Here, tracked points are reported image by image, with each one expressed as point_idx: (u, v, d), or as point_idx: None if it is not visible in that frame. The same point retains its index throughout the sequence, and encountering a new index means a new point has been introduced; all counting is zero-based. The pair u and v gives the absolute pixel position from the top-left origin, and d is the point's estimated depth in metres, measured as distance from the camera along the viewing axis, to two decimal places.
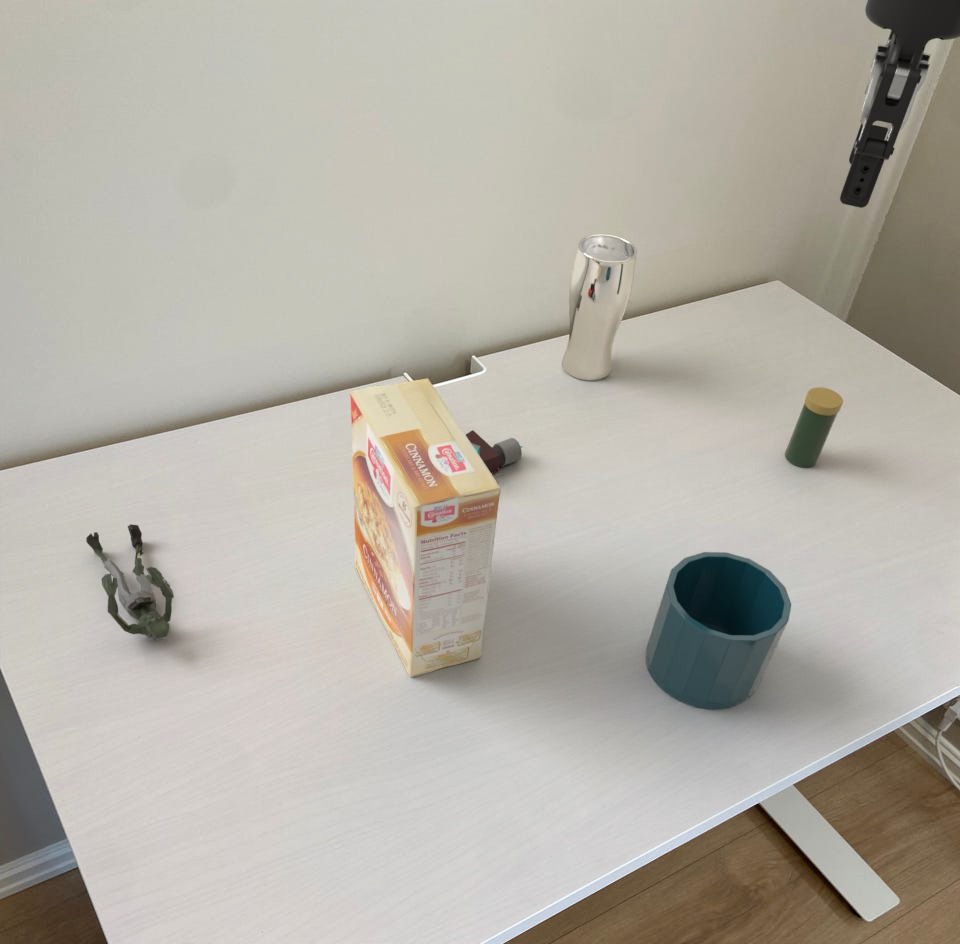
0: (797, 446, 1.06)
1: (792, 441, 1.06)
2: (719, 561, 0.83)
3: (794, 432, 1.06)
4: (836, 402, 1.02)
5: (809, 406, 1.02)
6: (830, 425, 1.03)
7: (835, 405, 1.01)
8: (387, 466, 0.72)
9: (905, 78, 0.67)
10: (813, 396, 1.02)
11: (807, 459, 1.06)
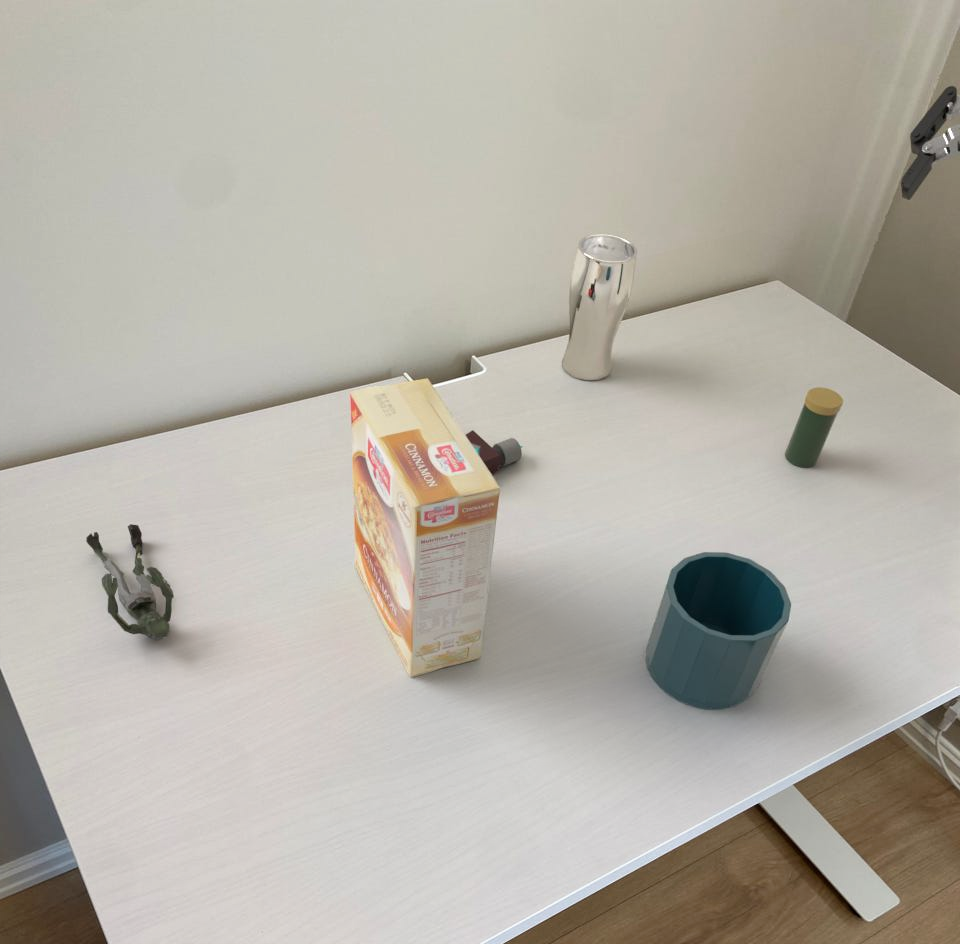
0: (797, 446, 1.06)
1: (792, 441, 1.06)
2: (719, 561, 0.83)
3: (794, 432, 1.06)
4: (836, 402, 1.02)
5: (809, 406, 1.02)
6: (830, 425, 1.03)
7: (835, 405, 1.01)
8: (387, 466, 0.72)
9: None
10: (813, 396, 1.02)
11: (807, 459, 1.06)
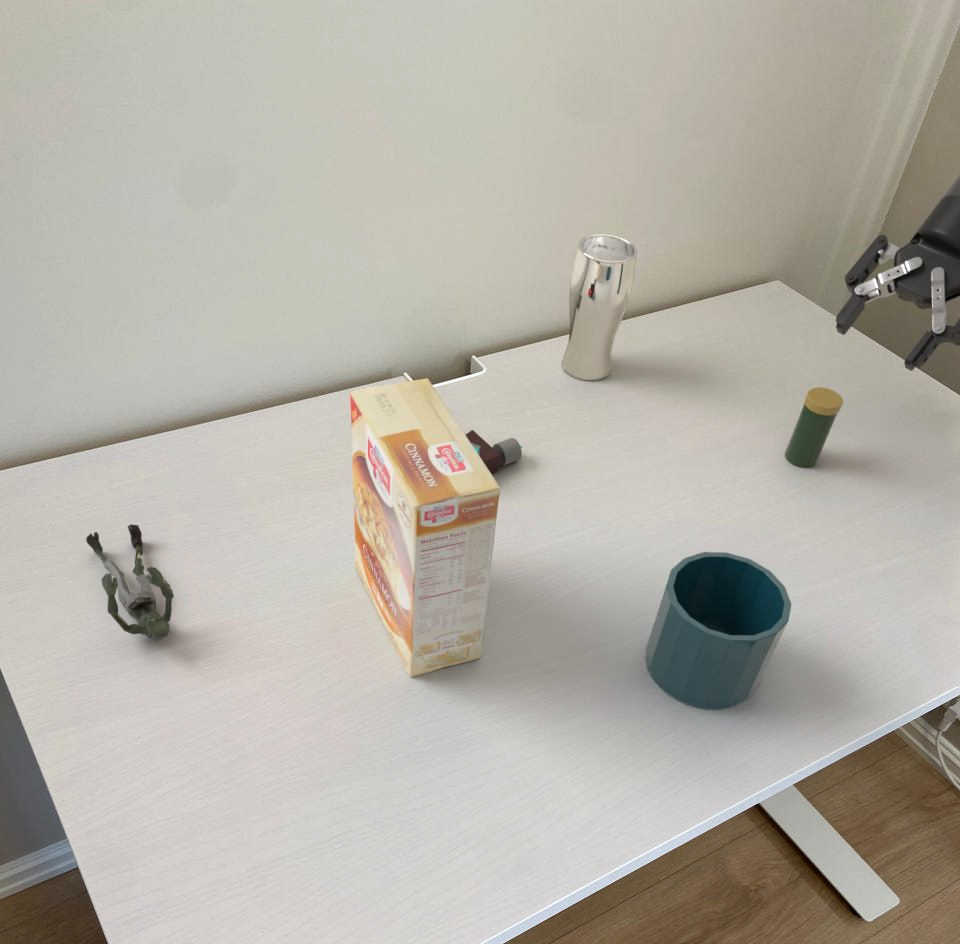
0: (797, 446, 1.06)
1: (792, 441, 1.06)
2: (719, 561, 0.83)
3: (794, 432, 1.06)
4: (836, 402, 1.02)
5: (809, 406, 1.02)
6: (830, 425, 1.03)
7: (835, 405, 1.01)
8: (387, 466, 0.72)
9: None
10: (813, 396, 1.02)
11: (807, 459, 1.06)
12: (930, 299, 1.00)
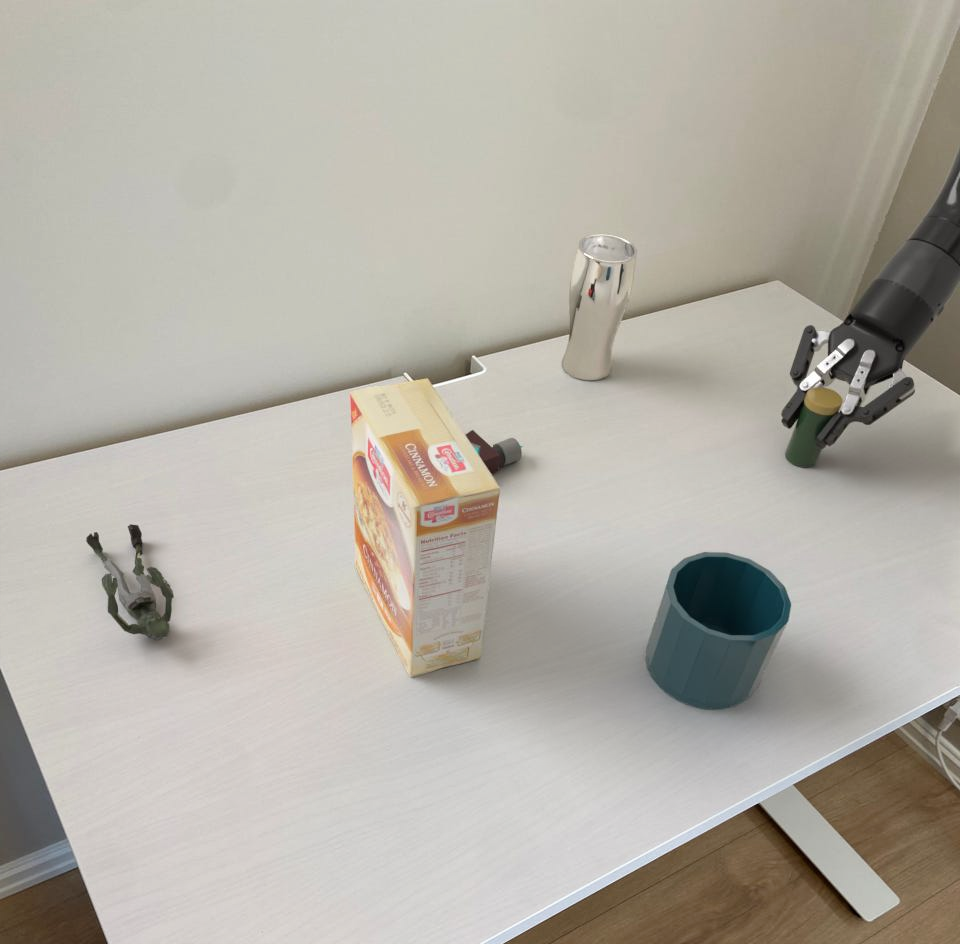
0: (797, 446, 1.06)
1: (792, 441, 1.06)
2: (719, 561, 0.83)
3: (794, 432, 1.06)
4: (836, 402, 1.02)
5: (808, 406, 1.02)
6: None
7: (834, 405, 1.01)
8: (387, 466, 0.72)
9: None
10: (813, 396, 1.02)
11: (807, 459, 1.06)
12: (854, 377, 1.02)
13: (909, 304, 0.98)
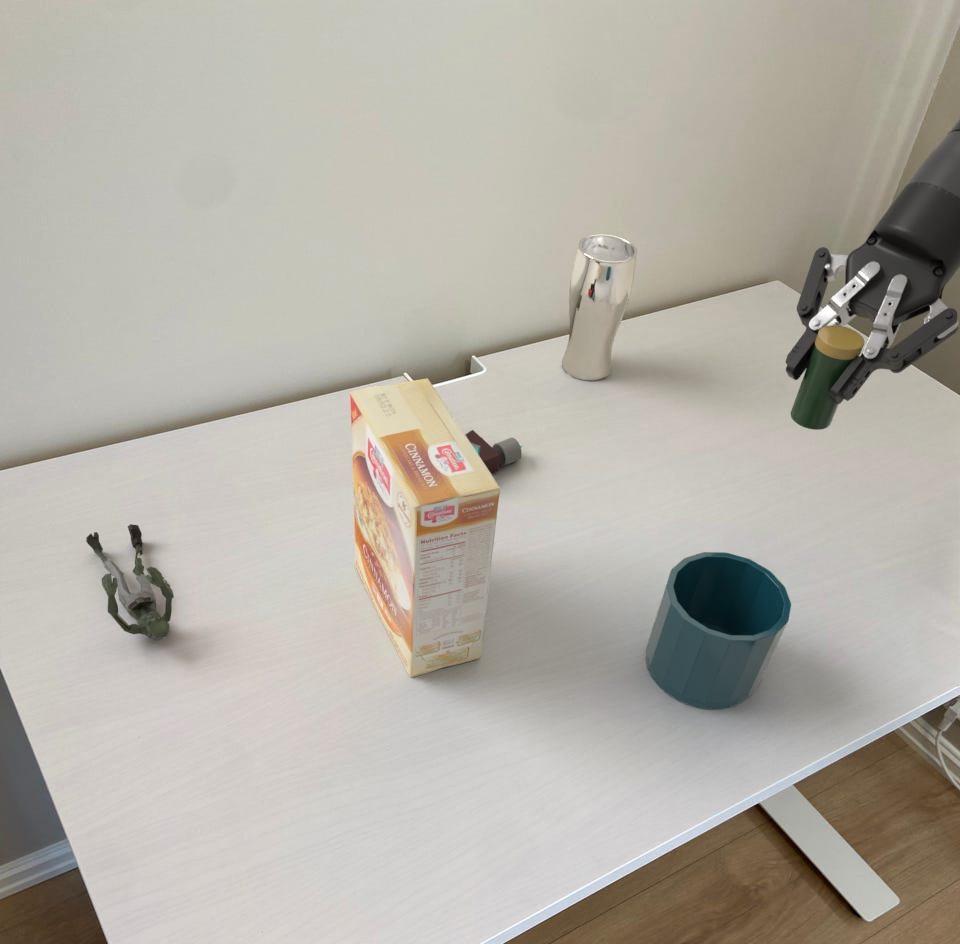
0: (806, 402, 0.83)
1: (799, 396, 0.84)
2: (719, 561, 0.83)
3: (802, 384, 0.83)
4: (856, 343, 0.79)
5: (820, 349, 0.80)
6: None
7: (854, 347, 0.79)
8: (387, 466, 0.72)
9: None
10: (826, 335, 0.80)
11: (819, 418, 0.84)
12: (879, 311, 0.79)
13: (952, 213, 0.75)
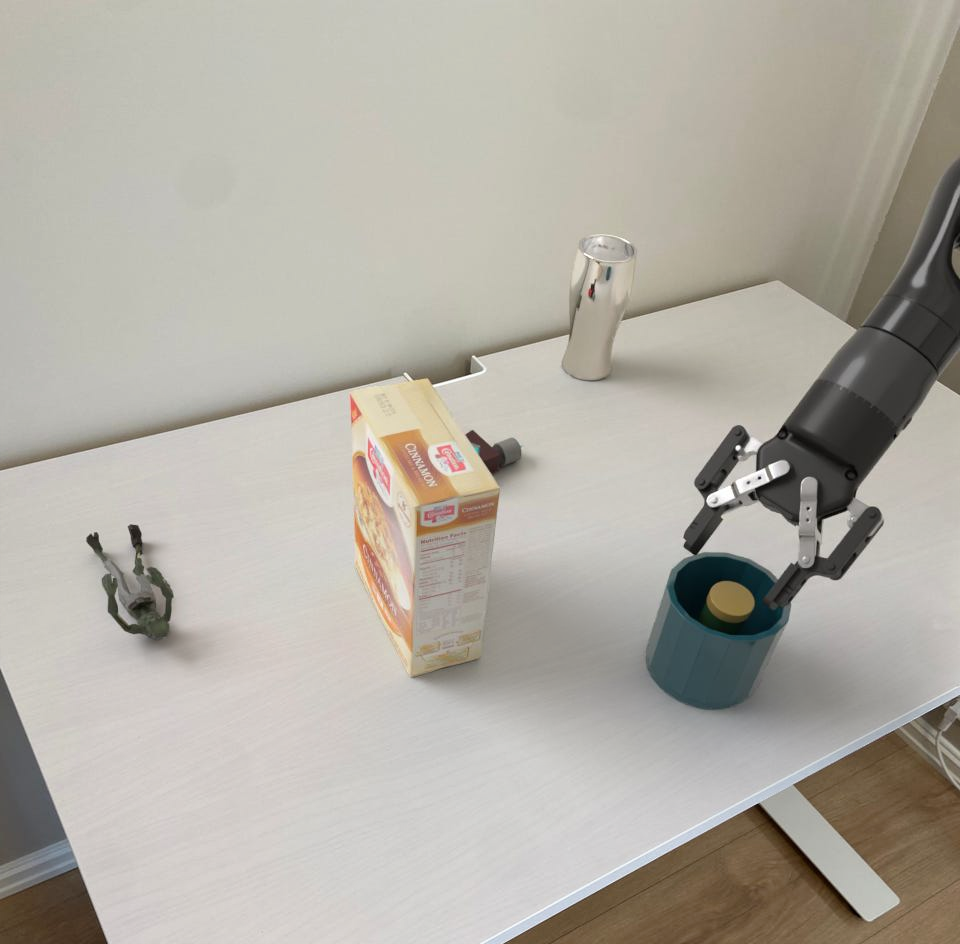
0: None
1: None
2: (719, 561, 0.83)
3: None
4: (746, 606, 0.79)
5: (711, 609, 0.79)
6: (738, 630, 0.81)
7: (743, 612, 0.79)
8: (387, 466, 0.72)
9: None
10: (717, 596, 0.79)
11: None
12: (799, 517, 0.74)
13: (862, 418, 0.70)
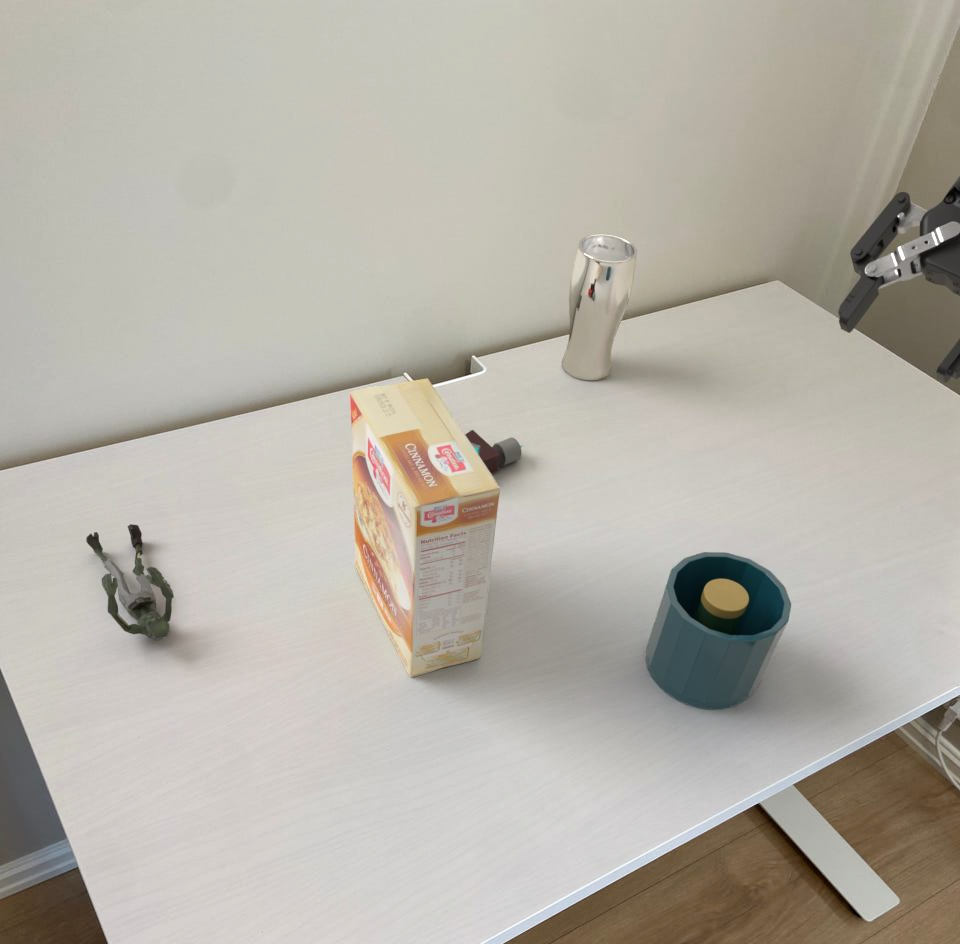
0: None
1: None
2: (719, 561, 0.83)
3: None
4: (740, 602, 0.79)
5: (705, 606, 0.80)
6: (734, 627, 0.81)
7: (738, 607, 0.79)
8: (387, 466, 0.72)
9: None
10: (711, 593, 0.80)
11: None
12: None
13: None
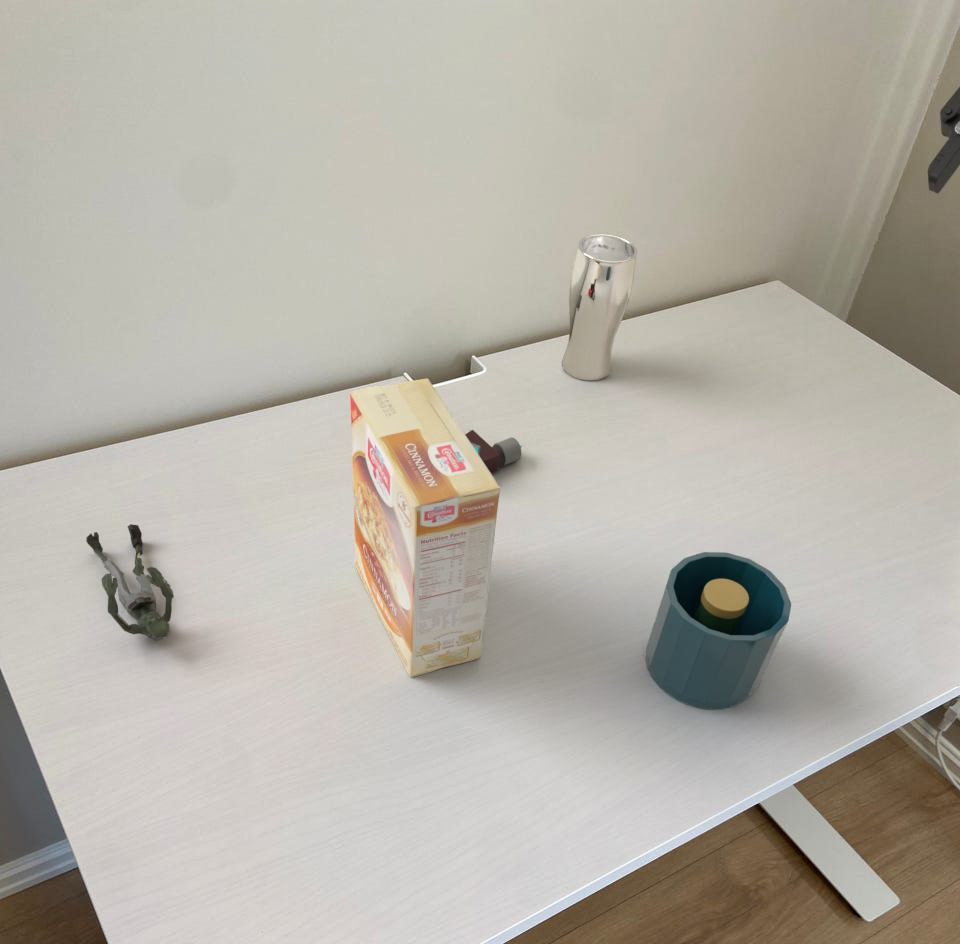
0: None
1: None
2: (719, 561, 0.83)
3: None
4: (740, 602, 0.79)
5: (705, 606, 0.80)
6: (734, 627, 0.81)
7: (738, 607, 0.79)
8: (387, 466, 0.72)
9: None
10: (711, 593, 0.80)
11: None
12: None
13: None
